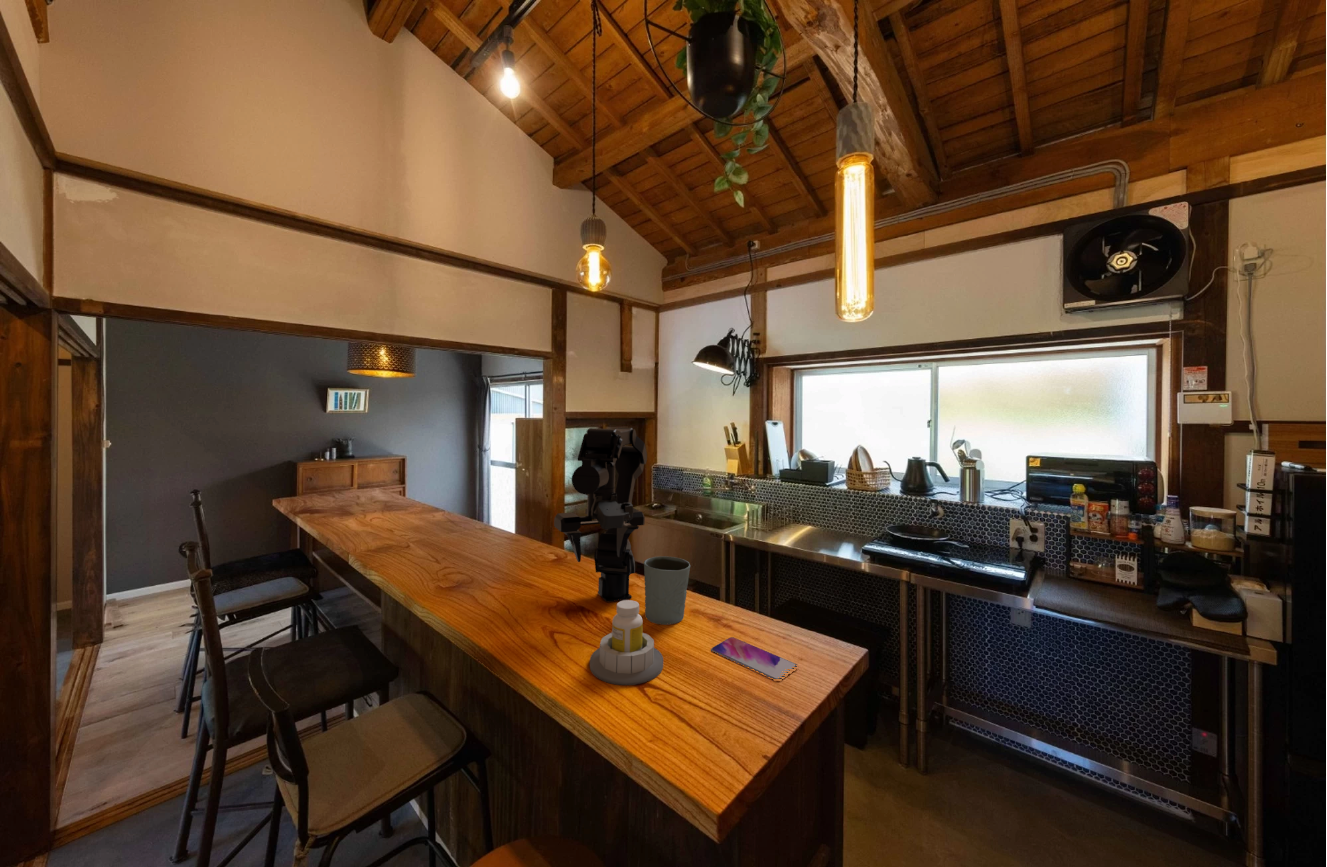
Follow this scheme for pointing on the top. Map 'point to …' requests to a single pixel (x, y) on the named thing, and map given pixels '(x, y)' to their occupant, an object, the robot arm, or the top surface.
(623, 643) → the supplement bottle
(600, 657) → the socket collar
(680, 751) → the top surface
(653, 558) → the grey green cup
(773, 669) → the smartphone
